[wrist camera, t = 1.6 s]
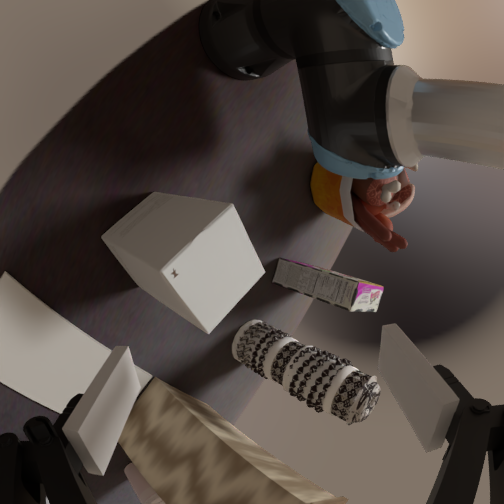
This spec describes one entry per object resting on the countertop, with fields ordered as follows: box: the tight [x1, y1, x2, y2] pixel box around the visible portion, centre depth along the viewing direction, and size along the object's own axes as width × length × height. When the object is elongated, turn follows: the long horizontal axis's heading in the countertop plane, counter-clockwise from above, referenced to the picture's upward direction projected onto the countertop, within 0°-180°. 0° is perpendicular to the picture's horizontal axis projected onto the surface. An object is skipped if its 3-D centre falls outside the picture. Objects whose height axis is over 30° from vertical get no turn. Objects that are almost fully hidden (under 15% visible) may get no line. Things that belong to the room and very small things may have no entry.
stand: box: [118, 377, 348, 504], centre depth 36 cm, size 13×15×30 cm
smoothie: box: [124, 462, 165, 504], centre depth 39 cm, size 6×6×14 cm
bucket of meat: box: [310, 162, 418, 252], centre depth 55 cm, size 20×16×20 cm
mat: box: [0, 271, 152, 414], centre depth 33 cm, size 12×26×1 cm, turn 38°
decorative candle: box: [232, 319, 380, 425], centre depth 48 cm, size 9×9×25 cm
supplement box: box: [101, 192, 265, 334], centre depth 34 cm, size 9×9×15 cm
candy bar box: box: [272, 258, 383, 312], centre depth 56 cm, size 11×5×16 cm, turn 68°
